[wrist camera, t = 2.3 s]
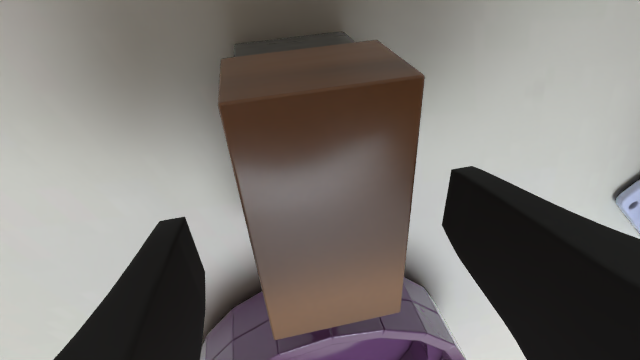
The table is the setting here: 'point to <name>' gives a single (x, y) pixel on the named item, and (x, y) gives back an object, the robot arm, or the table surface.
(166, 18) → the table surface
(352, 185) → the tall brown wooden block
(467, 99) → the table surface
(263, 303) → the bowl
